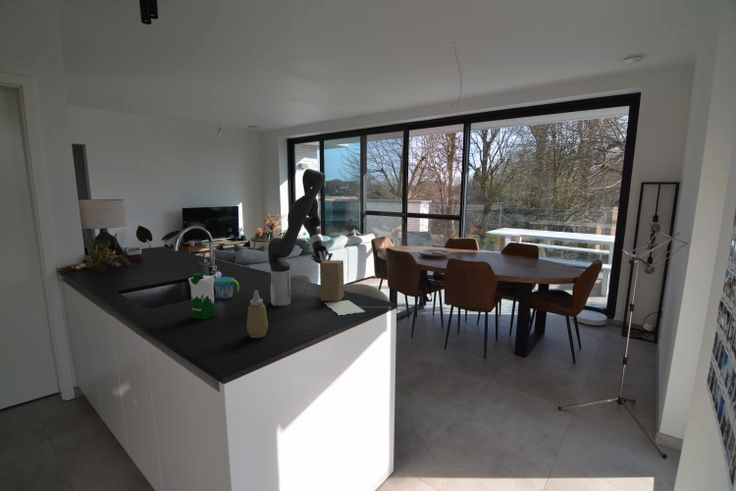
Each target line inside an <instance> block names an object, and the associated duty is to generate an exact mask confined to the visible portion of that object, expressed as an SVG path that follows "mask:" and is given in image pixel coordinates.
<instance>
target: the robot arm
mask: <svg viewBox="0 0 736 491" xmlns="http://www.w3.org/2000/svg"><path fill="white" fill-rule="evenodd" d="M325 179H326V174H325V173H324V172H322V171H318V170H315V169H312V168H306V169H305V170H304V171H303V173H302V187H303V193H304V194H303V195H302V196H300V197H299V198H297V199H296V200H295V201H294V202H293V203H292V205H291V207H290V209H289V210H288V212H287V213H288V214H287V230H286V232H285V234H284V236H283V237H274V238H271V239H270V241H269V242H268V245H267V254H268V262H269V263H268V264H269V267H270V274H271V275H270V276H271V277H270V279H271V280H270V282H271V284H270V303H271V305H272V306H273V307H274V306H275V307H277V306H278V307H283V306H288V305H290V304H291V303H292V302H291V301H292V300H291V298H292V297H291V293H292V292H291V264H289V262H287V261H286V260H285V258H288V257H289V256H290V255H292V252H293V250H294V249H295V245H296V242H297V239H298V236H299V235H300V231H301V230H302V228H303V227H304V229H305V230H306V232H307V233H308V235H309V239H310V244H311V247H312V251H313V254H311V256H310V259H311V260H313V261H314V262H315V263H317V264H318V265H320V263H321V262H323V261H325V260H331V259H332V257H333V255H334V254H333V253H332V252H331V253H330V252H329V251H328V249H327V246H326V243H325V240H324V237H323V234H322V232H321V231H322V230H321V229H320V228H319V227H320V226H321V224H322V223H321V218H320V215H319V202H318V200H317V196H318V194H319V193H320V191H321V189H322V188H323V186H324V184H325V182H326V180H325Z"/></svg>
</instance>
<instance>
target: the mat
mask: <svg viewBox="0 0 736 491" xmlns="http://www.w3.org/2000/svg"><path fill="white" fill-rule="evenodd" d="M325 304H326V305H327V306H326V305H325ZM324 305H325V306H326V307H327V308H329V309H330V308H331V309H332V310H331V309H330V310H331V311H332V312H334V313H335V312H336V313H337V315H338V316H340V315H343V316H348V315H347V314H350V315H354V313H356V314H362V313H366V311H365V310H364V309H362V308H361V307H359V306H358V305H356V304H355V303H353V302H352V301H350V300H340V301H339V302H336V301H329V302H324ZM336 313H335V314H336ZM340 317H341V316H340Z"/></svg>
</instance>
